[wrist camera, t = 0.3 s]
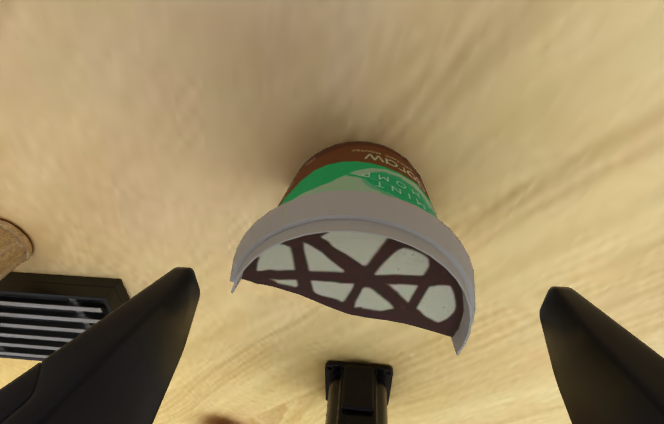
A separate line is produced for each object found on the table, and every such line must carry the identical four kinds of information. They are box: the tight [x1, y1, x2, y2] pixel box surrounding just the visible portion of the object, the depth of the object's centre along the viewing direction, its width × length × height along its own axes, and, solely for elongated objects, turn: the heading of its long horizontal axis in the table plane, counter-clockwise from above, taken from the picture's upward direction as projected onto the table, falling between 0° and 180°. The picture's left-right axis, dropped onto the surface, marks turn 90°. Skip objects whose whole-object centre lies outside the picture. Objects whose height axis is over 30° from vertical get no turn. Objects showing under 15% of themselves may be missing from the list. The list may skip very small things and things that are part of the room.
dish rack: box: [0, 272, 130, 361], centre depth 32 cm, size 10×18×8 cm, turn 90°
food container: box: [230, 142, 475, 355], centre depth 20 cm, size 12×6×10 cm, turn 73°
